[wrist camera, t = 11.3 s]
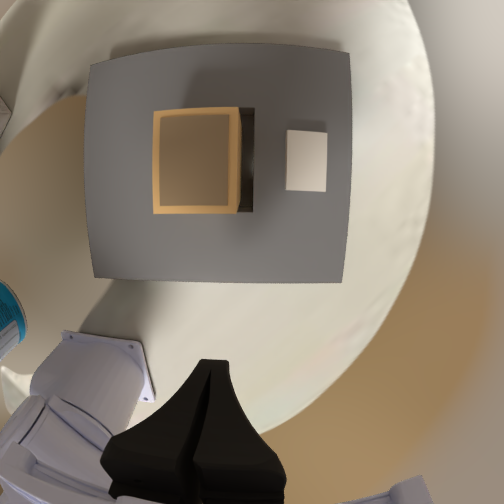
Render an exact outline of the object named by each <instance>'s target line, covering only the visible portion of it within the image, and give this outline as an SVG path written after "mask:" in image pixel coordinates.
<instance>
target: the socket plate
mask: <svg viewBox="0 0 504 504" xmlns="http://www.w3.org/2000/svg"><path fill="white" fill-rule="evenodd" d="M206 107H238V108H239V113H240V115H254V165H253V207H238V210H237V213H236V214H153V185H152V147H153V117H154V111H162V110H173V109H187V108H206ZM351 170H352V91H351V71H350V57H349V53H346V52H340V51H334V50H328V49H321V48H314V47H305V46H295V45H283V44H263V43H225V44H206V45H193V46H184V47H175V48H168V49H161V50H154V51H149V52H143V53H138V54H133V55H128V56H124V57H119V58H115V59H111V60H107V61H104V62H100V63H96V64H93V65H91V67H90V74H89V81H88V90H87V100H86V112H85V130H84V184H85V185H84V186H85V187H84V188H85V205H86V217H87V227H88V236H89V245H90V251H91V259H92V265H93V271H94V277H95V278H111V279H130V280H152V281H179V282H216V283H342V276H343V269H344V260H345V251H346V242H347V232H348V220H349V207H350V192H351Z"/></svg>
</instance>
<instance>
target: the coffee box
mask: <svg viewBox="0 0 504 504" xmlns="http://www.w3.org/2000/svg"><path fill="white" fill-rule="evenodd" d="M11 114H12V113H11V111H10V110H9V109H8V107H7V106H6V104H5V103H4V101H3V100H2V98H1V97H0V137H1V135H2V133H3V130H4V128H5V126H6V124H7V122H8V120H9V118H10V116H11Z"/></svg>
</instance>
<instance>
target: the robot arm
mask: <svg viewBox="0 0 504 504" xmlns="http://www.w3.org/2000/svg"><path fill="white" fill-rule="evenodd" d="M61 336H62V339H63V340H62V341H61V343H59V345H58V346H57V347H56V348H55V349H54V350H53V351H52V352H51V354H50V355H49V356H48V357H47V358H46V359H45V360H44V361H43V363H42V364H41V365H40V366H39V367H38V368H37V370H36V371H35V372H34V374H33V377H32V380H31V384H30V396H29V397H27V398H26V399H25V400H24V401H23V402H22V404H21V405H20V406H19V407H18V408H17V409H16V411H15V412H14V413H13V414H12V416H11V417H10V418H9V420H8V421H7V423H6V424H5V425H4V427H3V429H2V430H1V432H0V484H1V486H2V488H3V490H4V492H3V493H2V495H1V496H0V504H284V488H285V485H286V474H285V471H284V468H283V466H282V464H281V462H280V460H279V458H278V456H277V454H276V453H275V452H274V451H273V450H272V449H271V448H270V447H269V446H268V445H267V444H266V443H265V442H264V441H263V439H262V438H261V437H260V436H259V434H258V433H257V432H256V430H255V429H254V427H253V426H252V425H251V423H250V422H249V420H248V418H247V417H246V415H245V413H244V411H243V410H242V408H241V406H240V403H239V401H238V399H237V397H236V394H235V392H234V388H233V385H232V382H231V379H230V374H229V362H228V361H227V360H210V359H201V360H200V361H199V362H198V364H197V365H196V367H195V369H194V370H193V372H192V373H191V374H190V376H189V377H188V378H187V380H186V381H185V382H184V384H183V385H182V386H181V387H180V388H179V390H178V391H177V392H176V393H175V394H174V395H173V396H172V397H171V398H170V399H169V400H168V401H167V402H166V403H165V404H164V405H163V406H162V407H161V408H159V409H158V410H157V411H156V412H154V413H153V414H152V415H151V416H149V417H148V418H146V419H145V420H143V421H142V422H140V423H139V424H137V425H135V426H134V427H132V428H130V429H128V430H126V428H127V426H128V423H129V421H130V419H131V416H132V414H133V411H134V409H135V406H136V404H137V402H138V400H139V401H145V402H152V403H153V402H155V395H154V391H153V388H152V384H151V381H150V377H149V373H148V369H147V365H146V361H145V357H144V353H143V348H142V345H141V343H140V342H138V341H132V340H124V339H116V338H109V337H102V336H96V335H90V334H84V333H78V332H72V331H66V330H63V331H62V332H61ZM72 336H73V337H72ZM131 345H132V346H133V347H132V346H131ZM338 504H434V503H433V501H432V498H431V496H430V494H429V491H428V489H427V487H426V484H425V482H424V480H423V478H422V475H418V476H415V477H412V478H410V479H407V480H404V481H401V482H399V483H397V484H395V485H393V486H392V487H391V488H390V490H389V491H387V492H384V493H380V494H377V495H373V496H369V497H365V498H361V499H357V500H352V501H348V502H343V503H338Z"/></svg>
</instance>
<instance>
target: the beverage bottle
mask: <svg viewBox="0 0 504 504" xmlns="http://www.w3.org/2000/svg"><path fill="white" fill-rule="evenodd" d="M26 333H27V320H26V316H25V313H24V310H23V308H22V305H21V303H20V301H19V299H18V298H17V296H16V295H15V293H14V292H13V290H12V289H11V288H10V287H9V286H8V285H7V284H6V283H5V282H3V281H2V280H0V361H1V360H2V359H3V358H4V357H5V356H6V355H7V354H8V353H9V352H10V351H11V350H12V349H13V348H14V347H15V346H16V345H17V344H19V343H20V342H21V341H22V340H23V339H24V338H25V336H26Z"/></svg>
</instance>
